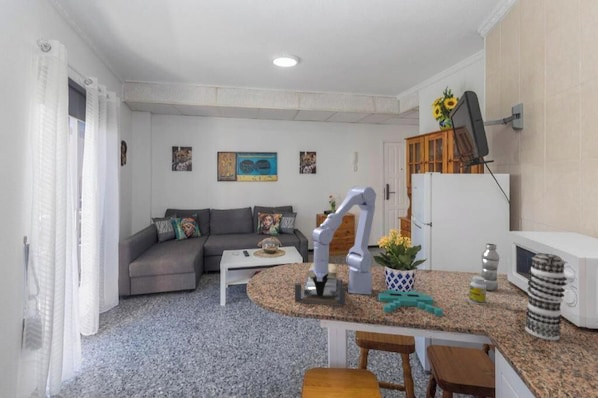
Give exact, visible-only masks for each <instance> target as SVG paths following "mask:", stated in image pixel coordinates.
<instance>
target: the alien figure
mask: <svg viewBox="0 0 598 398" xmlns="http://www.w3.org/2000/svg"><path fill="white" fill-rule="evenodd" d="M411 290H412V289H411ZM377 297H378V301H379V303H387V304H383V306H382V307H383V308H382V310H383V312H384V313H392V312H391V311H396V310H397V309H398V308H399V309H401V306H406V307H407V306H408V307H417V309H418V310H425V311H426V313H433V314H434V315H435V316H437V317H438V316H440V317H442V316H443V315H444V313H443V312H444V309H442V308H441V307H434V301H435V300H434V299H433V297H432V296H431V295H429V294H427V295H426V294H424V293H423V292H417V291H416V290H415V289H414V290H412V291H409V292H403V291H396V290H392V289H391V288H388V289H386V290H382V292H377Z"/></svg>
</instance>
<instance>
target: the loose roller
mask: <svg viewBox="0 0 598 398" xmlns="http://www.w3.org/2000/svg"><path fill="white" fill-rule="evenodd" d="M304 296H310V297H321V298H333V299H336V288H331V287H324V293H323V296H318V295H317V292H316V286H306V285H305V289H304Z"/></svg>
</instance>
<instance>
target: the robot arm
mask: <svg viewBox="0 0 598 398" xmlns="http://www.w3.org/2000/svg"><path fill="white" fill-rule="evenodd" d="M376 198H377V192H376V191H375V190H374V188H372V187H370V186H367V187H365V186H355V185H353V186H352V187H351V188H350V189H349V190H348V191H347V193H346V197H345V198H344V199H343V201H342V202H341V204H340V205H339V207H338V208H337V210H336V211H335V212H331V213H329V214H328V215H327V216H326V219H324V221H323V222H322V223H321V224H320V225H319V227H316V228H315V229H314V230H313V231H312V232H311V233H312V234H311V235H310V236H311V237H310V238H311V240H312V241H313V263H314V269H311V272H314V275H315V277H313V281H314V283H315V286H316V292H317V295H318V296H323V293H324V287H325V284H326V282H327V280H328V278H327V276H328V273H329V270H328V265H329V264H330V262H329V261H330V259H329V257H330V256H329V255H330V243H331V242H332V241H333V238H334V235H335V232H336V231H337V229H338V228H339V227H340V226H341V225H342V223H343V218H344V217H345V216H346V215H347V213H348V212H349V211H350V210H351V209H352V208H353V207H354V206H355V205H357V206H358V207H359V209H360V213H359V214H360V215H359V220H358V225H357V230H356V235H355V241H354V245H353V246H352V247H351V248H349V250H348V254H347V256H346V258H345V262H346V264H347V266H348V269H349V275H348V277H349V278H348V285H347V292H348V293H349V294H356V295H357V294H358V295H359V294H360V295H372V289H373V272H372V270H370V268H372V253H371V252H370V251H369V249H368V247H369V242H370V236H371V231H372V226H373V220H374V215H375V210H376V200H377V199H376Z"/></svg>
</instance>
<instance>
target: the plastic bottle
mask: <svg viewBox="0 0 598 398" xmlns="http://www.w3.org/2000/svg"><path fill="white" fill-rule="evenodd" d="M497 250H498V249H497V244H496V243H486V245H485V250H484V251H483V252H482V253H481V264H482V265H481V266H482V267H481V270H482V271H481V276H480V277H483V278H484V279H485V282H484V284H485V285H486V291H493V292H494V291H496V290H497V289H498V288H499V283H498V267H499V261H500V255H499V253H498V252H497Z"/></svg>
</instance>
